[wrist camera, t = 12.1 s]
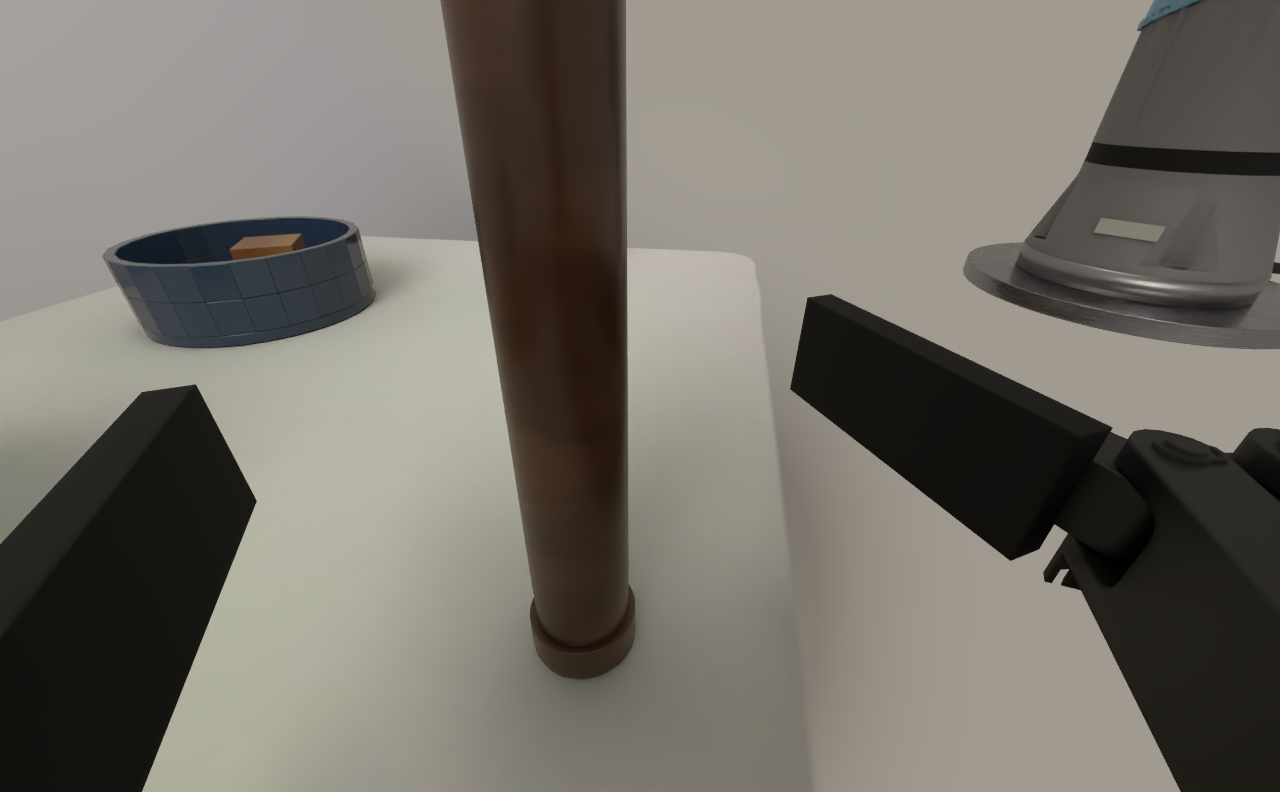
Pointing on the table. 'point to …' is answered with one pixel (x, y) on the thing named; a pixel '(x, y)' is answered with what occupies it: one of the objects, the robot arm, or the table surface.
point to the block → (266, 246)
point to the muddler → (556, 295)
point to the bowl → (241, 281)
